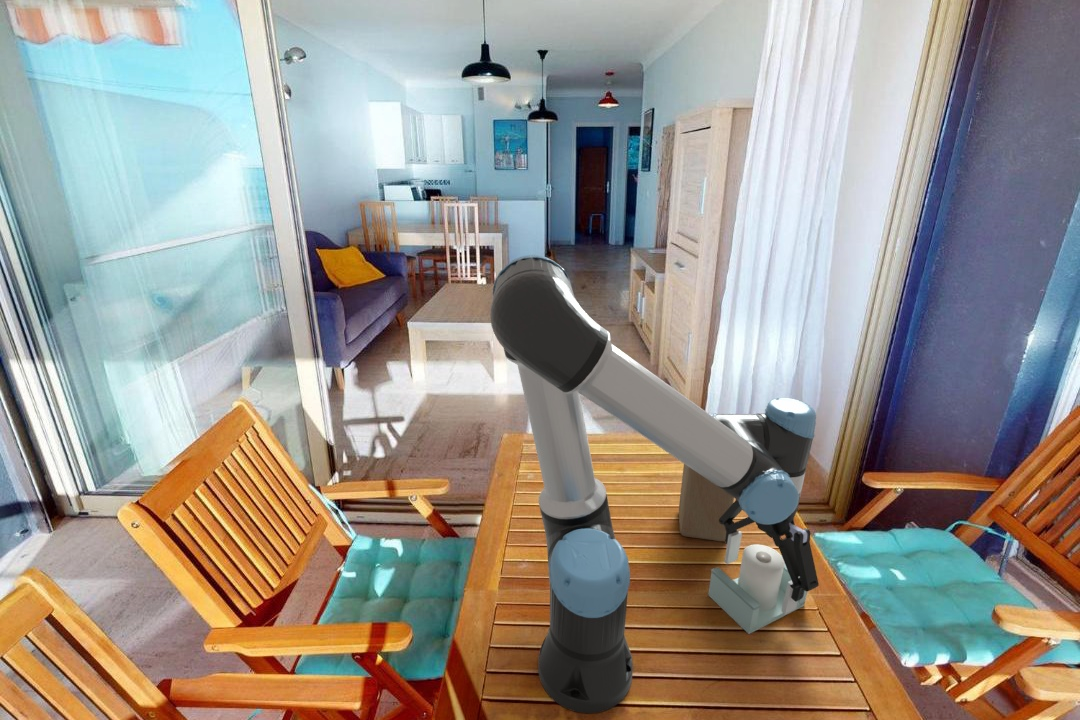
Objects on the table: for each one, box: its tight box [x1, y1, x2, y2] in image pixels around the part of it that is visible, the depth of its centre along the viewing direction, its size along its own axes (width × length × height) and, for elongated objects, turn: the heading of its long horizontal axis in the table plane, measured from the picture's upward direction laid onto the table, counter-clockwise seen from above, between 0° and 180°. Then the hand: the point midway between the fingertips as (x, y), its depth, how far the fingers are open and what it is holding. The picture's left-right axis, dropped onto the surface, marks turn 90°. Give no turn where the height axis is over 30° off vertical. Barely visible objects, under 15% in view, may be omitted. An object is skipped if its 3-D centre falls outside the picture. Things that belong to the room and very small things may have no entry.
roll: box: [738, 543, 785, 611], centre depth 101 cm, size 7×7×9 cm
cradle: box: [707, 562, 808, 635], centre depth 102 cm, size 14×10×6 cm
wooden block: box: [678, 463, 735, 542], centre depth 120 cm, size 10×10×20 cm
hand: (758, 584), depth 102 cm, fingers open, 13 cm apart
